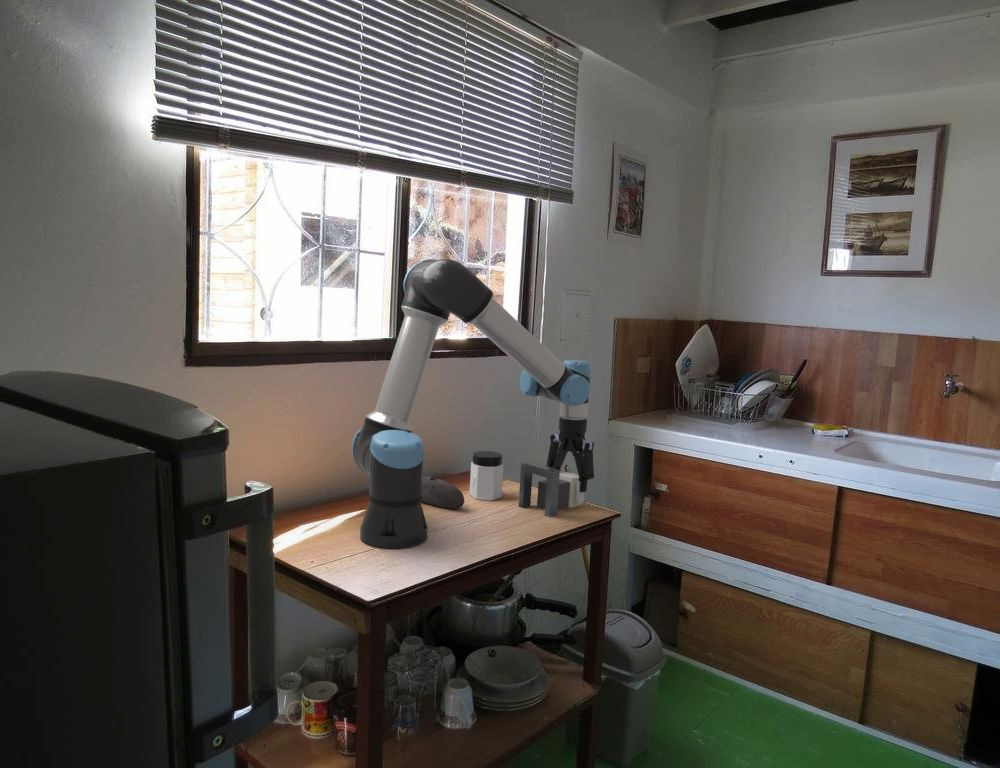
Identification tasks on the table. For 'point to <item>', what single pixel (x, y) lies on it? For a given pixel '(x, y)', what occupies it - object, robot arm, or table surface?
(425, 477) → the perforated stone tool
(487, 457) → the jar
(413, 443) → the robot arm
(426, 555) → the table surface
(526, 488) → the frame
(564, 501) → the plug
